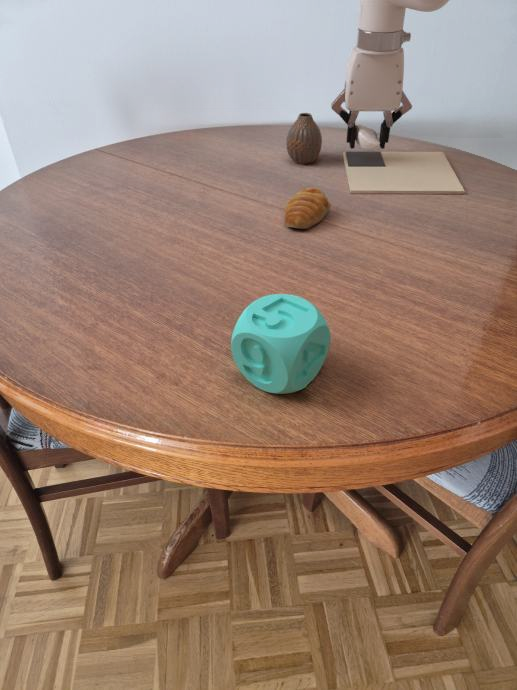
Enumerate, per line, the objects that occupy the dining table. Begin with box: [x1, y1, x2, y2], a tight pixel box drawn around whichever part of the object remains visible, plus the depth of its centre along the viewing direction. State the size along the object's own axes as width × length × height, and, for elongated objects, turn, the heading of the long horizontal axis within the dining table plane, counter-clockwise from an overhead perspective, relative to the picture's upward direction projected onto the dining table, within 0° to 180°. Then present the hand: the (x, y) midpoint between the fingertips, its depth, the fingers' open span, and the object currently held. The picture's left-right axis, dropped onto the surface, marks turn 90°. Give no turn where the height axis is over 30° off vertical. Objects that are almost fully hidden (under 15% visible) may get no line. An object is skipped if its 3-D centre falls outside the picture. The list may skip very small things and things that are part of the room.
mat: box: [342, 151, 466, 195], centre depth 103 cm, size 20×18×1 cm
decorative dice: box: [230, 293, 331, 395], centre depth 60 cm, size 8×8×8 cm
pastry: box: [284, 187, 332, 230], centre depth 88 cm, size 9×7×4 cm
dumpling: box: [355, 124, 380, 151], centre depth 104 cm, size 7×5×4 cm
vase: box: [285, 112, 323, 165], centre depth 105 cm, size 7×7×9 cm
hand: (366, 145), depth 105 cm, fingers closed on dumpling, 5 cm apart
